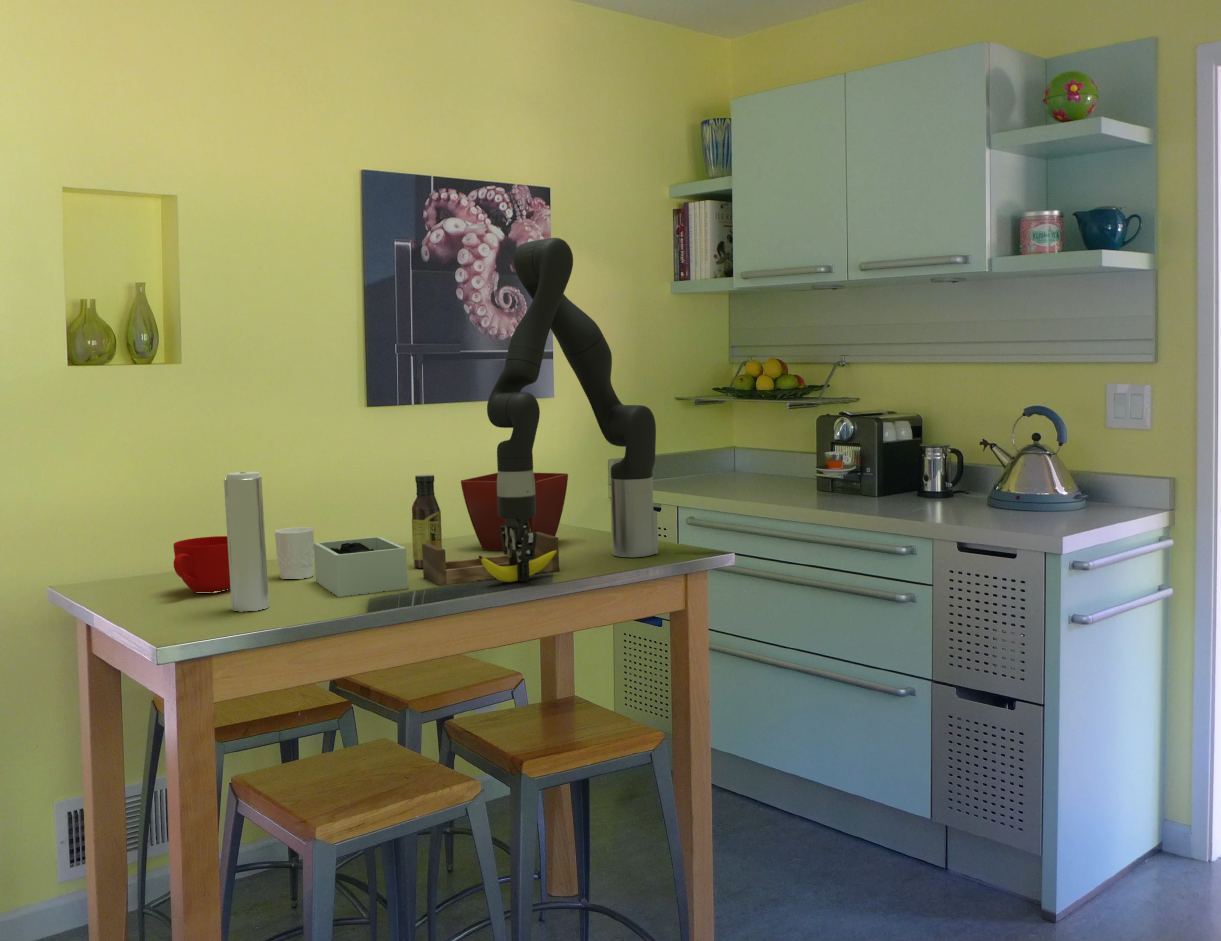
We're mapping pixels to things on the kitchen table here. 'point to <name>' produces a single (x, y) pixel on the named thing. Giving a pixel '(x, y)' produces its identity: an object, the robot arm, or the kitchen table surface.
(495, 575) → the banana
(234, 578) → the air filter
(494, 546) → the plant pot
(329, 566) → the camera caddy
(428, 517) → the sauce bottle
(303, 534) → the white cup
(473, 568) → the cradle
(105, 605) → the kitchen table surface
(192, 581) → the ceramic cup
